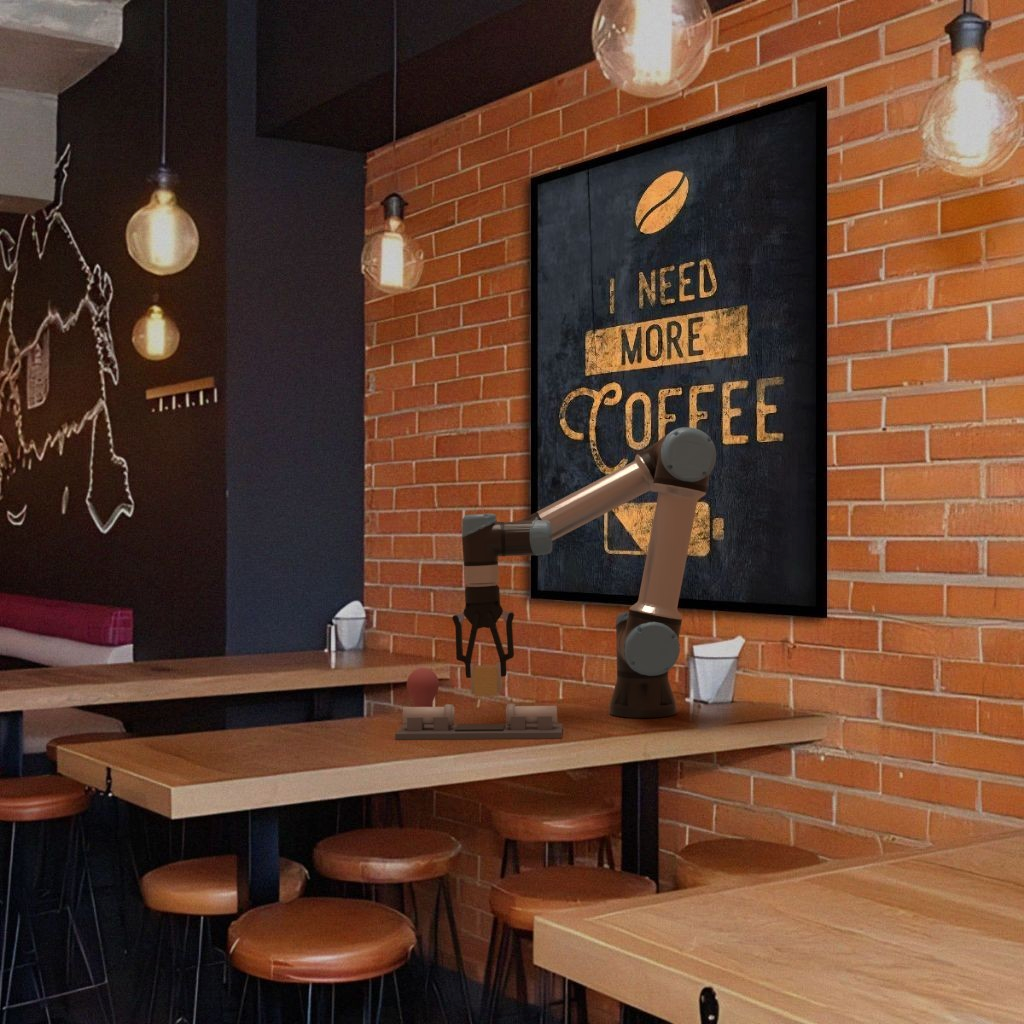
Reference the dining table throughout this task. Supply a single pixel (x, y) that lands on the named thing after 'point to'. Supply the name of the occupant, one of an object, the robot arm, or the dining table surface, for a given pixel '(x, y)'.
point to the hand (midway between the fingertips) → (487, 692)
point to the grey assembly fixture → (512, 729)
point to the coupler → (485, 680)
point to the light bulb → (422, 687)
